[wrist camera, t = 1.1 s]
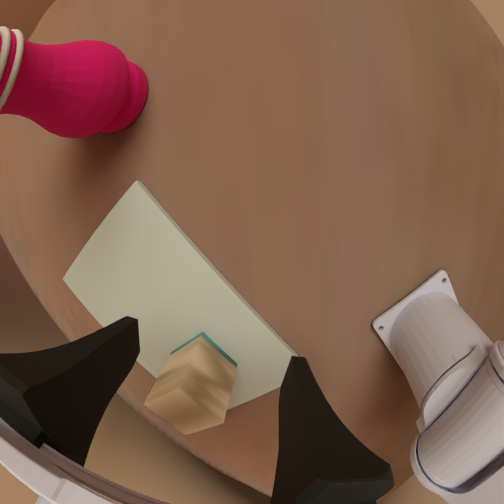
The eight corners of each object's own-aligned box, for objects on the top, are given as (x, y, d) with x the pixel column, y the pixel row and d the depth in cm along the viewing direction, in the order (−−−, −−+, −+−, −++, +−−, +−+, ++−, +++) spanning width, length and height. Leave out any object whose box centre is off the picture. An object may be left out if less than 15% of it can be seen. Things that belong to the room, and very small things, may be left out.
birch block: (237, 363, 24) (223, 423, 17) (204, 381, 25) (185, 435, 18) (203, 331, 23) (177, 388, 16) (171, 351, 24) (143, 404, 18)
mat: (309, 367, 24) (310, 371, 23) (207, 414, 28) (206, 417, 27) (139, 180, 20) (135, 180, 19) (66, 276, 24) (62, 279, 23)
